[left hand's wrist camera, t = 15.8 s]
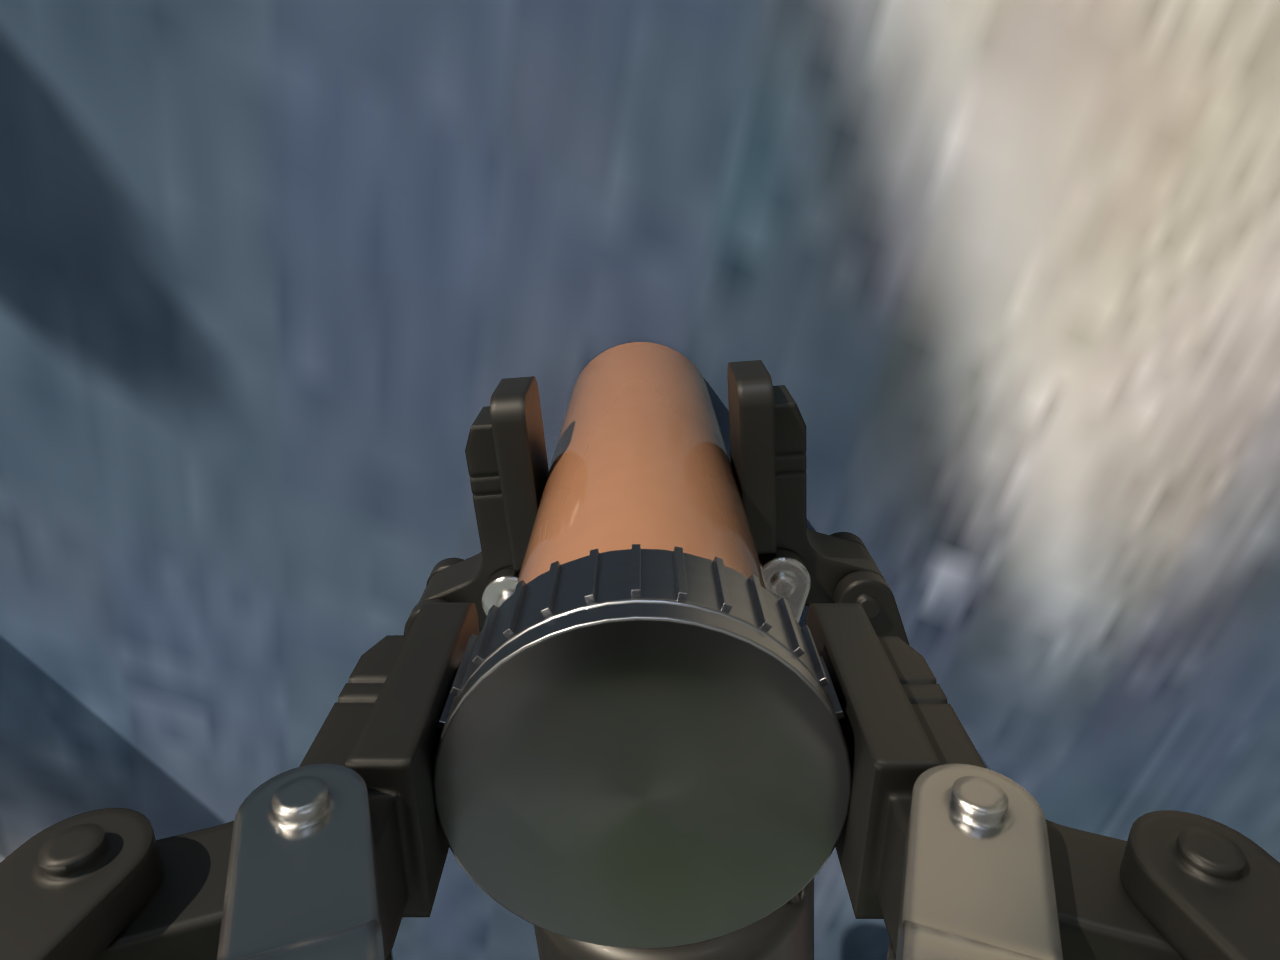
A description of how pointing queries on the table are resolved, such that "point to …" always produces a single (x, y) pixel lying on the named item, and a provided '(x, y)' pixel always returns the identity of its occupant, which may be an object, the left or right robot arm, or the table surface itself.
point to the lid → (642, 751)
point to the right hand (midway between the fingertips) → (629, 381)
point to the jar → (641, 468)
